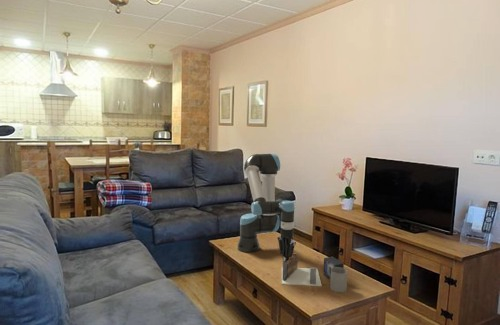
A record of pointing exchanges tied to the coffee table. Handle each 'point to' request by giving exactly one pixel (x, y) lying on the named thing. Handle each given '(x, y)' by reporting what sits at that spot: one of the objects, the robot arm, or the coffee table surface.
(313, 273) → the post
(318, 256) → the coffee table surface
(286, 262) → the hinge post
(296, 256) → the brown wooden plank
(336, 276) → the cup
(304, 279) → the board
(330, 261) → the small box
